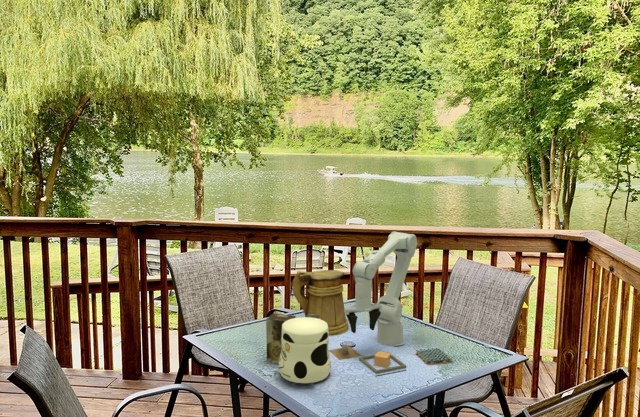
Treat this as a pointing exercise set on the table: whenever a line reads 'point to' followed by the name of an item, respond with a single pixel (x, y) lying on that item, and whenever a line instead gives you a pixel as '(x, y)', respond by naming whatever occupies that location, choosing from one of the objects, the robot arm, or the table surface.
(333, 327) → the tankard
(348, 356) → the post base
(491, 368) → the table surface
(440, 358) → the woven mat
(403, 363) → the tray
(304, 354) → the milk container
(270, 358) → the coffee box
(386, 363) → the orange cube
